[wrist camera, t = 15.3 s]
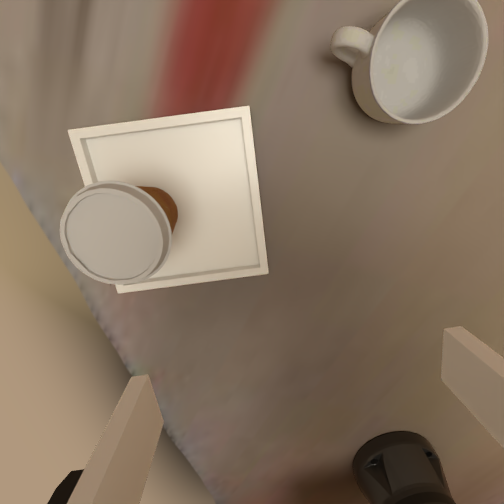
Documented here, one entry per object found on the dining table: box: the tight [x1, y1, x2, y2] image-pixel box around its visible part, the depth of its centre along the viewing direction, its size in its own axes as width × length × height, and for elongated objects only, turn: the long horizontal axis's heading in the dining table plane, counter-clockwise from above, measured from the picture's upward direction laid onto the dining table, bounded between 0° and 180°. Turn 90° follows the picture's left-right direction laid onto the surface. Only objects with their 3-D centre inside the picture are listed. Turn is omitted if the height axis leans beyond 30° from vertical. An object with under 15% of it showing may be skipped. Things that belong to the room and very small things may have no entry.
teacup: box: [330, 0, 488, 124], centre depth 29 cm, size 14×11×8 cm
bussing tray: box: [68, 106, 269, 293], centre depth 36 cm, size 20×20×2 cm
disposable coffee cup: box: [60, 181, 178, 285], centre depth 30 cm, size 10×10×12 cm
